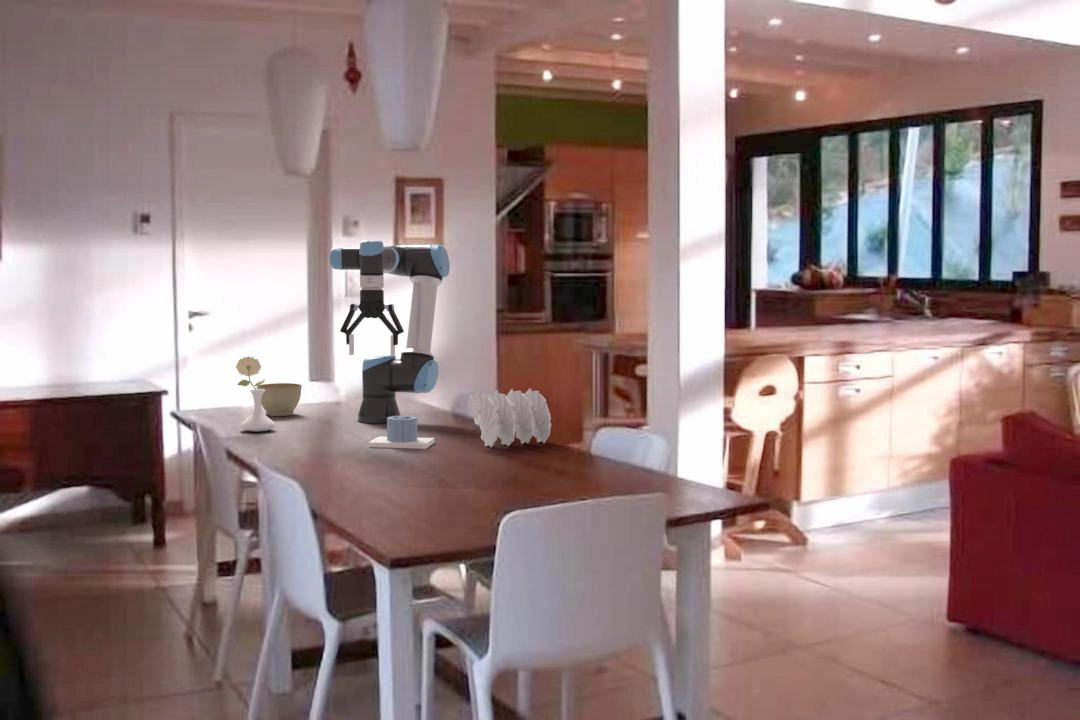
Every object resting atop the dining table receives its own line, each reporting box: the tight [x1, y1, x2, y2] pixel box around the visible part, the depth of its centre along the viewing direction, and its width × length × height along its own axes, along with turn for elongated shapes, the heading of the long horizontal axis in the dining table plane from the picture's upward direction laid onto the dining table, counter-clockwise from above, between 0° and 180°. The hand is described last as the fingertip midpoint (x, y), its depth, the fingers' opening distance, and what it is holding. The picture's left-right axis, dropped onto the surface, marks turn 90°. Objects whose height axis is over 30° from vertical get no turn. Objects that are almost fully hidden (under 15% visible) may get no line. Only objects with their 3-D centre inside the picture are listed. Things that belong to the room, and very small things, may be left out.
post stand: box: [368, 417, 436, 450], centre depth 368 cm, size 12×18×8 cm, turn 83°
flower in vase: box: [235, 356, 276, 433], centre depth 394 cm, size 13×11×25 cm
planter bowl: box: [256, 382, 303, 417], centre depth 435 cm, size 16×16×11 cm
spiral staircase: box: [466, 387, 552, 448], centre depth 370 cm, size 18×18×25 cm
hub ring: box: [386, 415, 418, 442], centre depth 369 cm, size 9×9×7 cm
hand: (372, 355), depth 381 cm, fingers open, 13 cm apart
